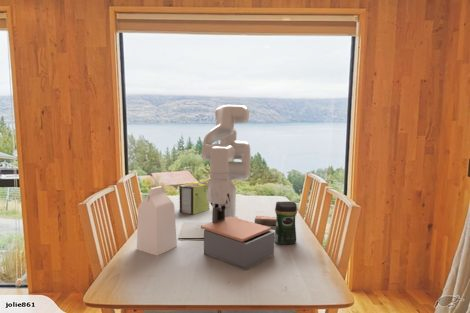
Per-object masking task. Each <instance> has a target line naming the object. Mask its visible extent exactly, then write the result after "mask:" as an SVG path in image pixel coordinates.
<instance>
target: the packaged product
mask: <svg viewBox="0 0 470 313" xmlns="http://www.w3.org/2000/svg"><path fill="white" fill-rule="evenodd" d="M254 223H256V224H260V225H263V226H267V227H271V230H275V229H276V216H266V215H255V217H254Z"/></svg>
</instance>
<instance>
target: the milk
mask: <svg viewBox="0 0 470 313" xmlns="http://www.w3.org/2000/svg"><path fill="white" fill-rule="evenodd" d="M137 208H138V209H137V228H136V229H137V232H136V233H137V234H136V250H138V251H141V252H144V253H148V254H150V255H154V256H160V255H161V254H163V253H165V252H168V251H169V250H172V249H174V248H176V247H178V244H177V241H178V240H177V228H176V211H175V210H176V208H175V203H174V202H173V201H172V199H171V198H170V197H169V196H168V195H167V194H166V193H165V190H164V187H163V185H162V186H160V185H159V186H156V187H151V188H149V190H148V194H147V196H146V197H144V199H143V200H142V201H141V202H140V203H139V204H138V207H137Z"/></svg>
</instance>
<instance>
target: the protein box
mask: <svg viewBox="0 0 470 313" xmlns="http://www.w3.org/2000/svg"><path fill="white" fill-rule="evenodd" d="M207 186H208V182H202V181H193V182H189V183H185V184H181V185H179V212H180V213H184V214H188V215H192V216H194V215H196V214H199V213H202V212H204V211H208V210H210V203H209V202H208V201H207Z"/></svg>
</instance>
